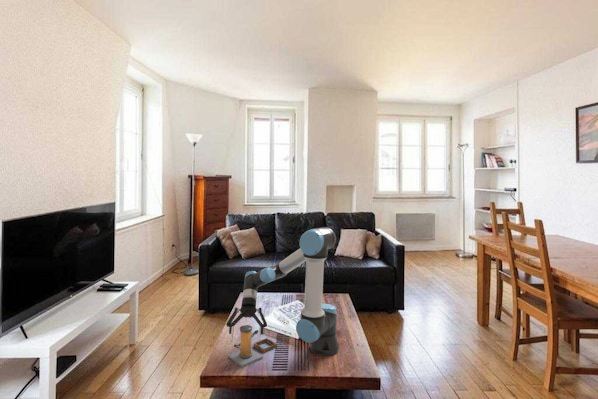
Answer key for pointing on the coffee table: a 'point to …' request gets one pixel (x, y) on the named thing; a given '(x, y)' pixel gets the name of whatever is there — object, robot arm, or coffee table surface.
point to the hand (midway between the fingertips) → (245, 340)
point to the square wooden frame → (267, 347)
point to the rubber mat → (244, 362)
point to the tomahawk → (251, 336)
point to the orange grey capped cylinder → (245, 342)
